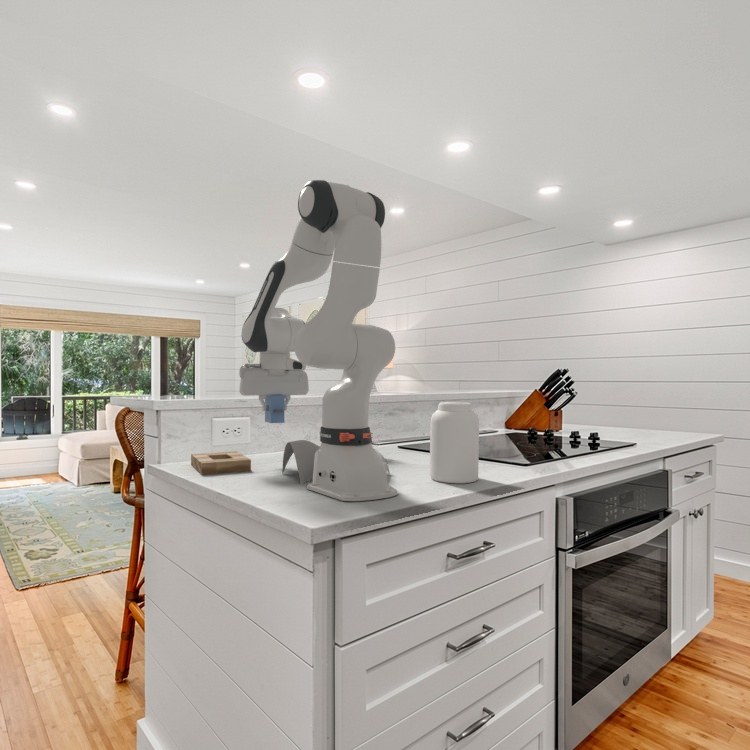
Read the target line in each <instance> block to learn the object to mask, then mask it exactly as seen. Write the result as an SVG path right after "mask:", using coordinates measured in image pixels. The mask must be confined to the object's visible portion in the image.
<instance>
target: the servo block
mask: <svg viewBox="0 0 750 750" xmlns="http://www.w3.org/2000/svg"><path fill="white" fill-rule="evenodd" d="M264 402H265V403H266V405H269V411H264V422H265V423H268V424H282V423H283V424H284V423H285V411H284V405H285V395H265V399H264Z"/></svg>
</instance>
